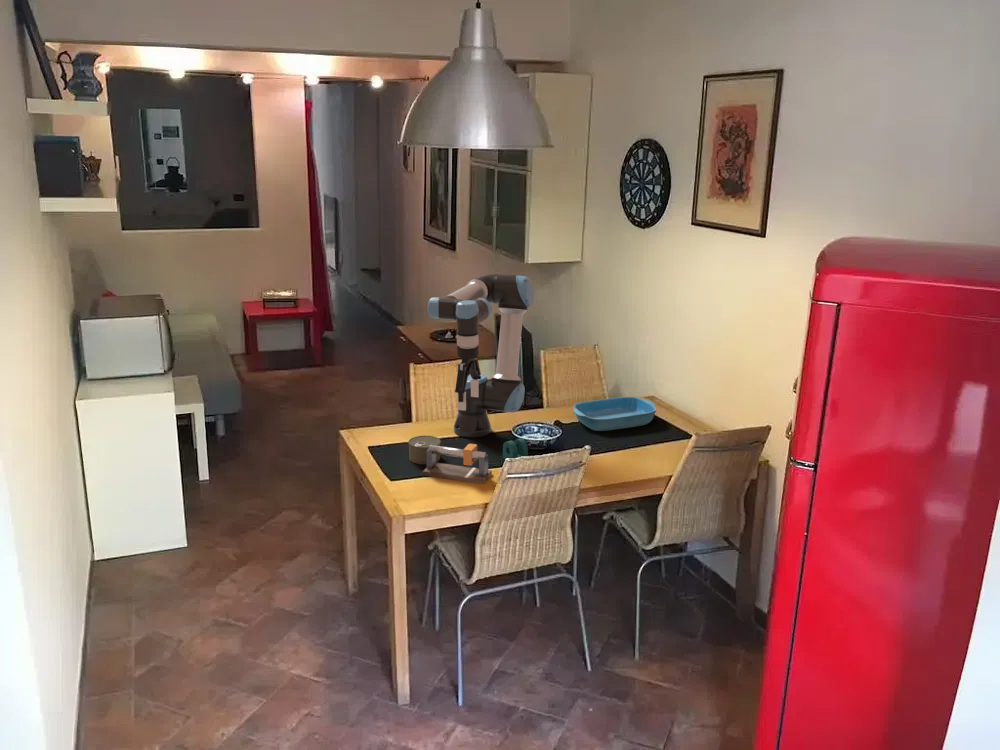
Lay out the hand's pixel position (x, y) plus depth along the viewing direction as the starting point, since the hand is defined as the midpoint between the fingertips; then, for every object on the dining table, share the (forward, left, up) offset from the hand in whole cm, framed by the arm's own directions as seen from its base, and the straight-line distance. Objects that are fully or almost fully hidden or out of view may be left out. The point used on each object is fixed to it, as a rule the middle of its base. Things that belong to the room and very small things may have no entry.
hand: (468, 403), depth 293 cm
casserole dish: (-69, +40, -26) cm, 84 cm away
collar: (+5, +2, -20) cm, 21 cm away
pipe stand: (+5, -3, -26) cm, 26 cm away
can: (-5, -20, -26) cm, 33 cm away
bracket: (-12, +17, -26) cm, 34 cm away
